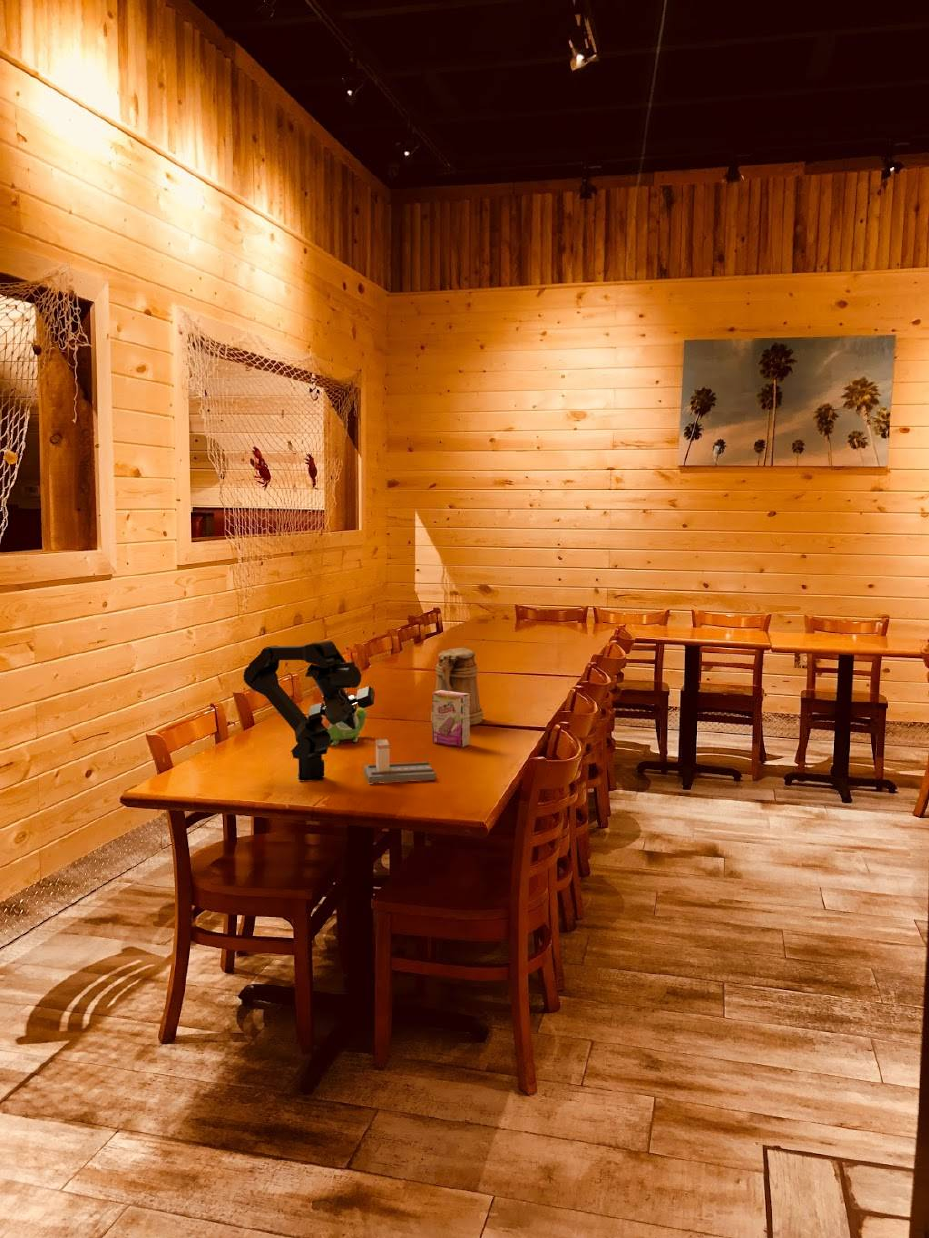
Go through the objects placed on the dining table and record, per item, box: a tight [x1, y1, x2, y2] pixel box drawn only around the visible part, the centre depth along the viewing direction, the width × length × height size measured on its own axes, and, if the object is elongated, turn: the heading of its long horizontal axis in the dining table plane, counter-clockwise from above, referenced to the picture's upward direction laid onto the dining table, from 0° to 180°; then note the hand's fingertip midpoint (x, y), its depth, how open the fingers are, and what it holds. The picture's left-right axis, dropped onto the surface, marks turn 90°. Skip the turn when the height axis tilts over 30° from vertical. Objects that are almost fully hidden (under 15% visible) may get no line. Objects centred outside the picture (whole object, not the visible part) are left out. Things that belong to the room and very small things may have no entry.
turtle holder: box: [321, 707, 368, 747], centre depth 310 cm, size 12×18×12 cm
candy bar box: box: [432, 690, 471, 748], centre depth 305 cm, size 11×5×16 cm, turn 59°
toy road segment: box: [363, 761, 436, 783], centre depth 269 cm, size 18×12×3 cm, turn 102°
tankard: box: [430, 647, 484, 727], centre depth 334 cm, size 18×24×25 cm
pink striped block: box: [375, 739, 391, 772], centre depth 268 cm, size 3×6×8 cm, turn 12°
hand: (354, 728), depth 270 cm, fingers closed
